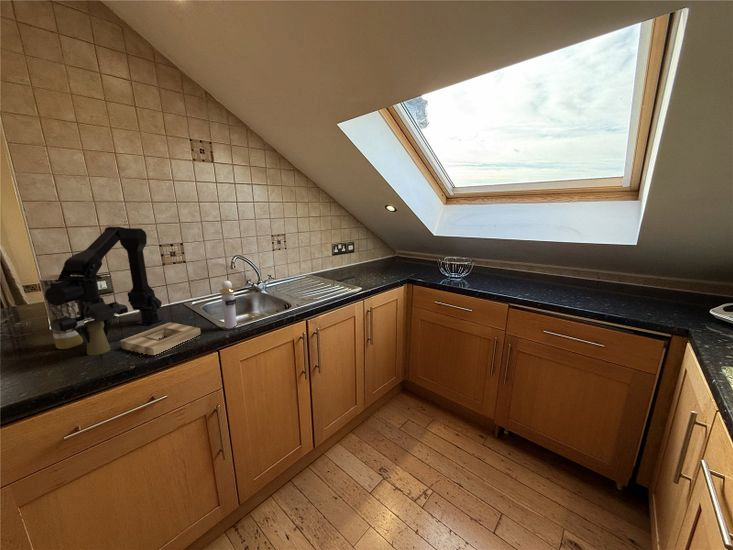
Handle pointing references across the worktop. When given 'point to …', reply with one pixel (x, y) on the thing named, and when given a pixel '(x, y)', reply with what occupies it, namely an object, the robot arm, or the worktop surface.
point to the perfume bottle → (228, 305)
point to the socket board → (151, 344)
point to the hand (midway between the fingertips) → (96, 340)
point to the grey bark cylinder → (55, 312)
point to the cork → (96, 338)
